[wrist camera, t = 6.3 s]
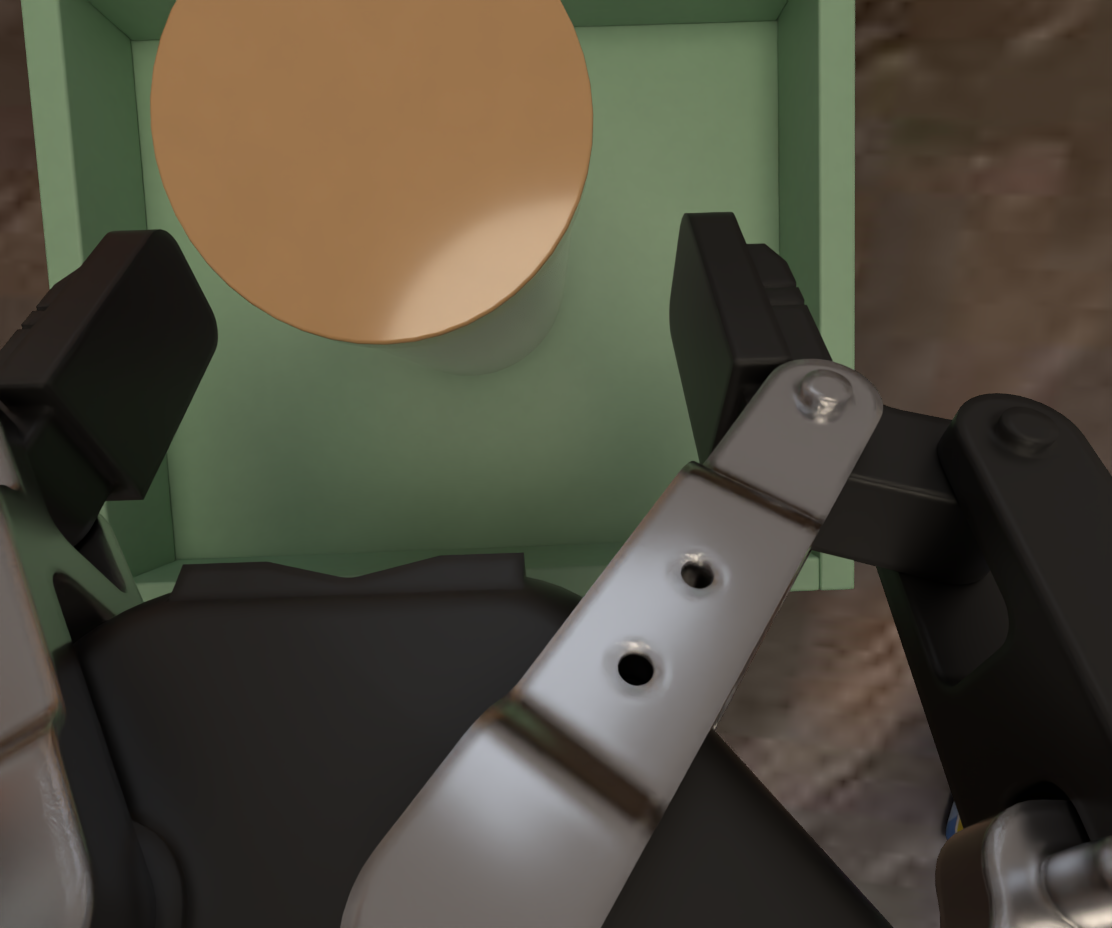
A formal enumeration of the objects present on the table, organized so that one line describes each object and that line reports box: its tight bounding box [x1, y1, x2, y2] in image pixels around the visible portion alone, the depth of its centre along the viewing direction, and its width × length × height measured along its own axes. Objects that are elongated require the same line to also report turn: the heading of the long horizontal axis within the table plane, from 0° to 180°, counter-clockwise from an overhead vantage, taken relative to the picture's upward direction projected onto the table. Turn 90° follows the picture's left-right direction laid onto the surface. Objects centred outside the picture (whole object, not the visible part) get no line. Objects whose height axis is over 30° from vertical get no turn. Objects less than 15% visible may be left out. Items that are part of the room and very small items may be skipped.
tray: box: [21, 0, 855, 602], centre depth 16 cm, size 18×15×3 cm
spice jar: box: [150, 0, 594, 376], centre depth 12 cm, size 5×5×9 cm
